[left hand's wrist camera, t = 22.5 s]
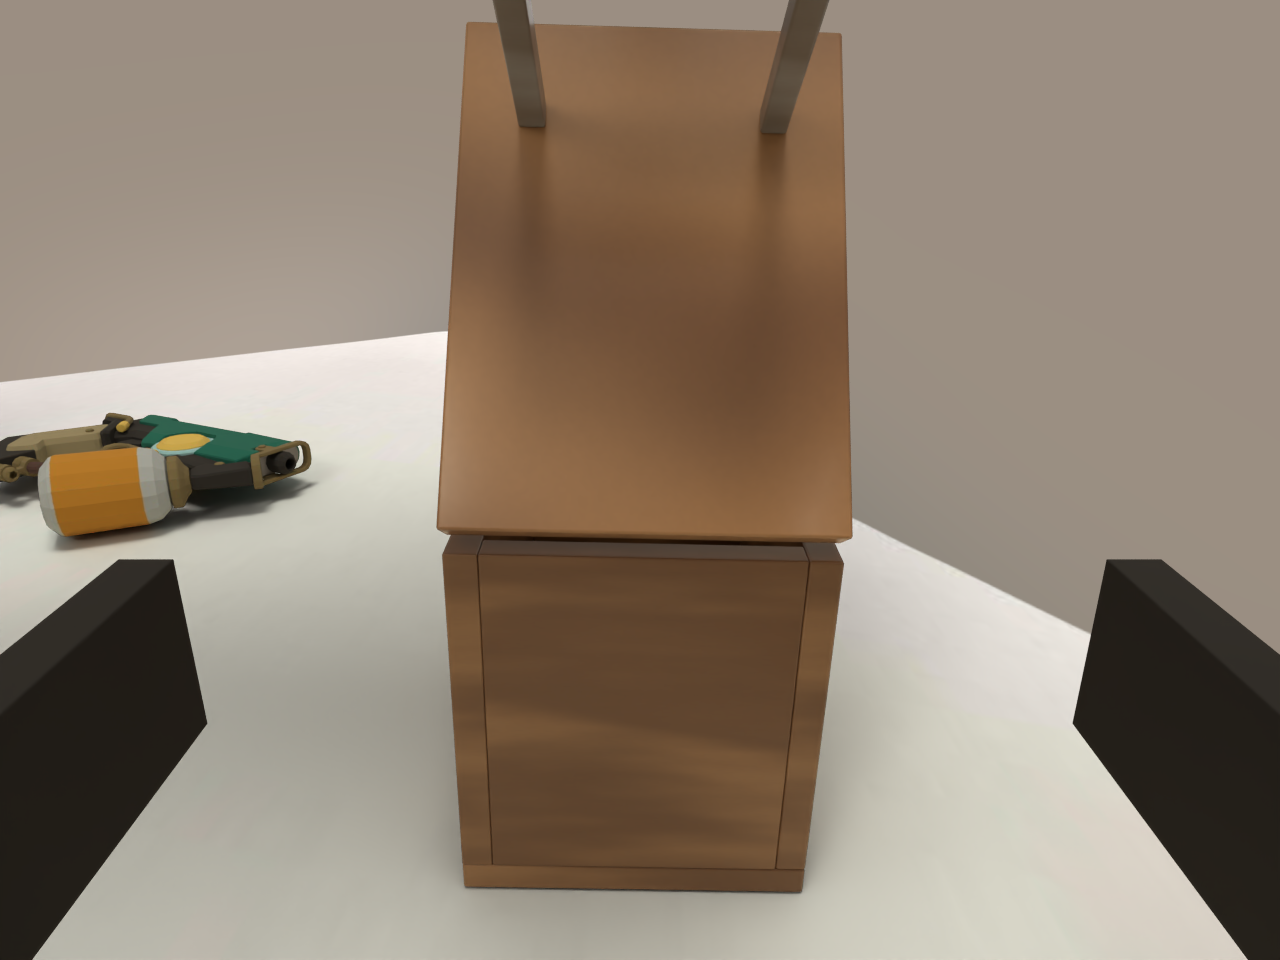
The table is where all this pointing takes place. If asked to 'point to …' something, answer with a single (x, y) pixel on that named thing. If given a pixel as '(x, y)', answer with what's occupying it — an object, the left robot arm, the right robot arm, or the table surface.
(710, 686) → the chest
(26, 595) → the table surface
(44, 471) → the spray gun
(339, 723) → the table surface
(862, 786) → the table surface
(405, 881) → the table surface
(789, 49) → the lid
